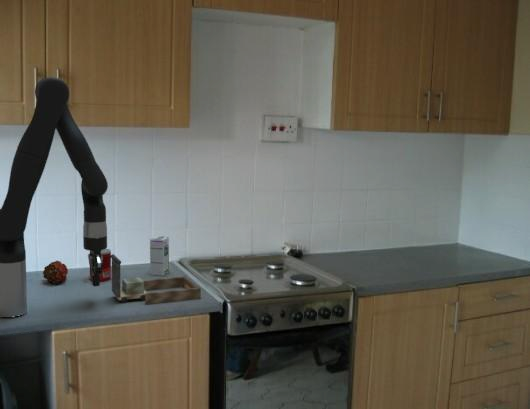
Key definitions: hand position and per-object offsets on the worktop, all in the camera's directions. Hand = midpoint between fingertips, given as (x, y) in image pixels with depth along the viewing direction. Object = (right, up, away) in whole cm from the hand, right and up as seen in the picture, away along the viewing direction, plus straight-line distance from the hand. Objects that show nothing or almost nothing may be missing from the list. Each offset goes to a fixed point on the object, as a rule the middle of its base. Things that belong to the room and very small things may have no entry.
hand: (95, 285), depth 212 cm
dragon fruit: (-21, -2, +25) cm, 33 cm away
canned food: (-6, -1, +30) cm, 31 cm away
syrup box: (+14, -1, +40) cm, 43 cm away
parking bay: (+21, -5, +11) cm, 24 cm away
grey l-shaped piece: (+10, -5, +6) cm, 13 cm away
